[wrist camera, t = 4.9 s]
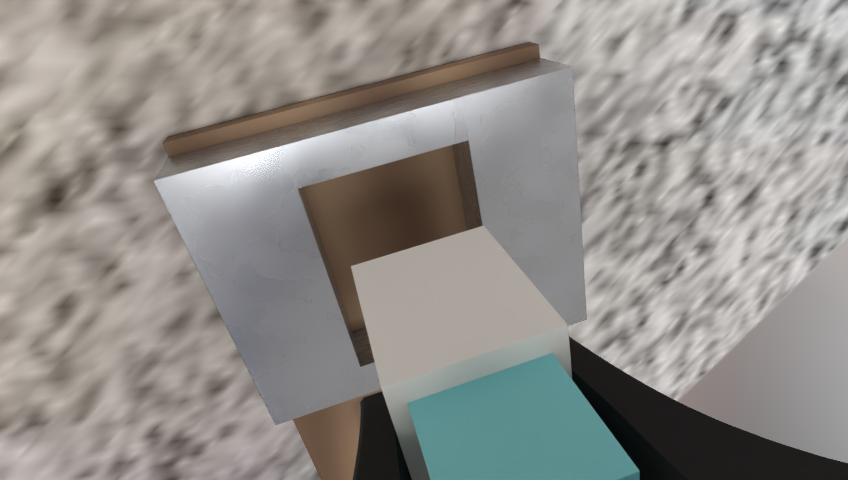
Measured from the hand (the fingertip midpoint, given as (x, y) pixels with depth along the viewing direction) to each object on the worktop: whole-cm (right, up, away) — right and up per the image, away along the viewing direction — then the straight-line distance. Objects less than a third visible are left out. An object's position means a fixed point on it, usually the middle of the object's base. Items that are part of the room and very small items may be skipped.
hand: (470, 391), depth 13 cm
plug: (-1, +1, +3) cm, 3 cm away
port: (-3, +4, +9) cm, 10 cm away
